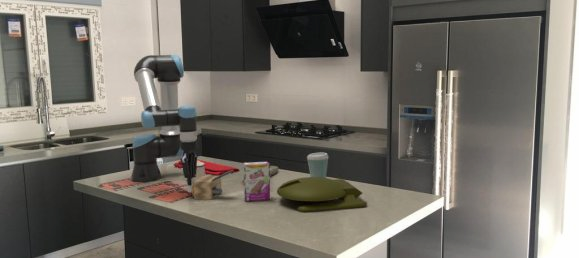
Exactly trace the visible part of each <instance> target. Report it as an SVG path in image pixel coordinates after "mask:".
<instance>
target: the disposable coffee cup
mask: <svg viewBox="0 0 579 258" xmlns="http://www.w3.org/2000/svg"><path fill="white" fill-rule="evenodd" d="M306 159H307V164H308V169H309V176H310V177H322V178H327V171H328V164H329V163H328V162H329V155H328V153H326V152H323V151H322V152H321V151H320V152H314V153H310V154H308V155H307V156H306Z"/></svg>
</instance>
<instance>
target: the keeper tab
mask: <svg viewBox="0 0 579 258" xmlns="http://www.w3.org/2000/svg"><path fill="white" fill-rule="evenodd" d="M233 171H234V170H230V171H228V172H226V173H224V174H222V175H220V176H217V177H215V178H213V179H212V181H214V180H216V179H219V178H221V179H222V178H223V177H225V176H228V175H229V173H230V174H232V173H231V172H233Z"/></svg>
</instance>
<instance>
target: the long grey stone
mask: <svg viewBox="0 0 579 258" xmlns="http://www.w3.org/2000/svg"><path fill="white" fill-rule="evenodd" d="M278 171H279V167H278V166H275V165H270V177H271V176H274V175H275V174H277V172H278ZM241 183H243V184H244V177H243V179H242V182H241Z"/></svg>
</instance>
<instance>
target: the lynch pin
mask: <svg viewBox="0 0 579 258" xmlns="http://www.w3.org/2000/svg"><path fill="white" fill-rule="evenodd" d="M222 194H223V188H221V189H218V188H212V195H217V196H222ZM191 195H192V197H194V185H193V186H192V192H191Z"/></svg>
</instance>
